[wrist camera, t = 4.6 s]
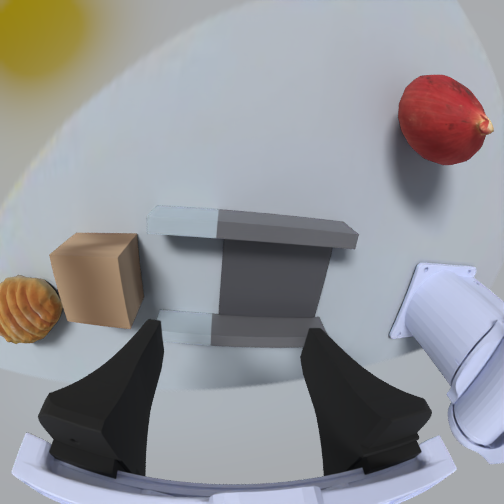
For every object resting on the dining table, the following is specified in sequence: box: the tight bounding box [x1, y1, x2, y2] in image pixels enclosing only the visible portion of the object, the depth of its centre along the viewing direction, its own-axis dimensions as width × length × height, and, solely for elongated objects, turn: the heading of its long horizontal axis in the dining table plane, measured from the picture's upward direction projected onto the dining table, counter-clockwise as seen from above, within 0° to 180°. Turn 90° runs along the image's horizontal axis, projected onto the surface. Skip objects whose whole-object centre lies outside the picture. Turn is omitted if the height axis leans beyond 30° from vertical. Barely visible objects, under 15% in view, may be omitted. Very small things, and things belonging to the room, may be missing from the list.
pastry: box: [0, 275, 63, 344], centre depth 17 cm, size 9×7×4 cm
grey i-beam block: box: [147, 206, 359, 348], centre depth 18 cm, size 12×9×2 cm
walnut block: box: [49, 233, 144, 329], centre depth 16 cm, size 5×5×4 cm
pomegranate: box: [398, 75, 494, 165], centre depth 12 cm, size 6×6×8 cm
